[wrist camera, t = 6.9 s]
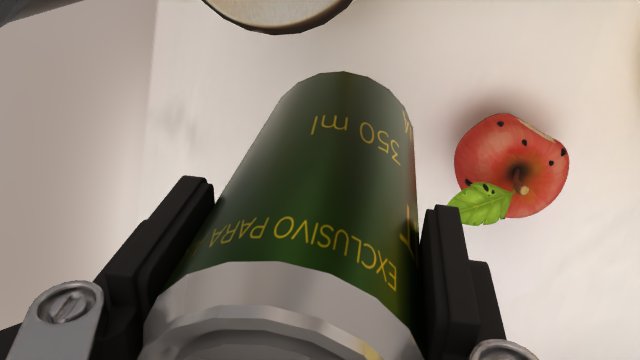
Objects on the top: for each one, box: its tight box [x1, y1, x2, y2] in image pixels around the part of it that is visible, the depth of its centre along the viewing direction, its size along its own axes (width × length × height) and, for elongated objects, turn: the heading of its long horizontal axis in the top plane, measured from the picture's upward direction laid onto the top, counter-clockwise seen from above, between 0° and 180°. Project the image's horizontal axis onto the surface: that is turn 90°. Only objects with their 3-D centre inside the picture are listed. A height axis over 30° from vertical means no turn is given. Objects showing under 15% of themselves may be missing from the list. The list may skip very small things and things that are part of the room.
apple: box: [447, 113, 569, 226], centre depth 31 cm, size 8×7×10 cm
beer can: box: [137, 71, 426, 360], centre depth 13 cm, size 5×5×12 cm
